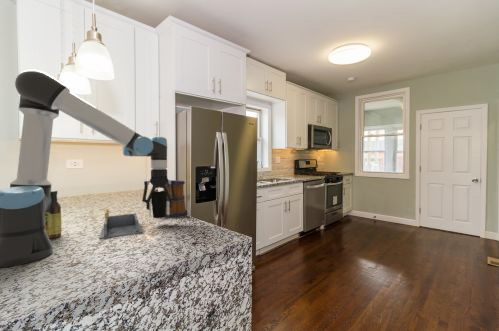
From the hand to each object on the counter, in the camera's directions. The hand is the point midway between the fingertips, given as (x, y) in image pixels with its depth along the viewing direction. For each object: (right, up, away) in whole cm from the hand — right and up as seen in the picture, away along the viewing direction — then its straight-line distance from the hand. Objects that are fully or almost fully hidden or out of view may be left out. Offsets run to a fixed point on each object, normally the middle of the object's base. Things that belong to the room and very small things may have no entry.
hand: (159, 215), depth 117 cm
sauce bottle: (-40, -6, -15) cm, 43 cm away
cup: (0, -1, 0) cm, 1 cm away
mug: (-1, -5, +20) cm, 21 cm away
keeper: (-14, -5, -8) cm, 17 cm away
